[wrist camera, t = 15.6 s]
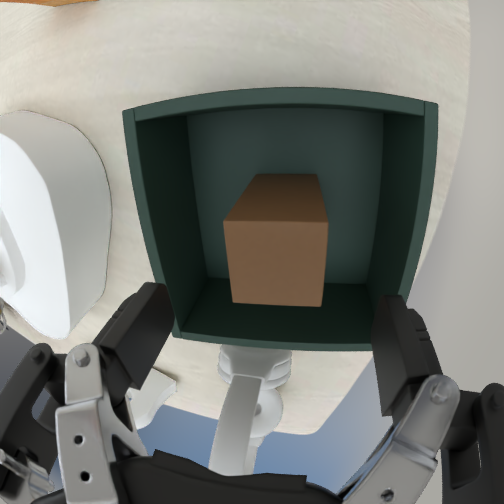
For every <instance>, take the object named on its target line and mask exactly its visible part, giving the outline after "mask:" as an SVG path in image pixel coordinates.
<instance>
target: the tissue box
mask: <svg viewBox="0 0 504 504" xmlns="http://www.w3.org/2000/svg"><path fill="white" fill-rule="evenodd" d="M111 219H112V205H111V196H110V190H109V185H108V181H107V177H106V173H105V170H104V167H103V164H102V161H101V159H100V157H99V155H98V154H97V152H96V150H95V149H94V147H93V146H92V145H91V143H90V142H89V140H88V139H87V138H86V137H85V136H84V135H83V134H82V133H81V132H80V131H79V130H78V129H76V128H75V127H73V126H72V125H70V124H68V123H66V122H63V121H60V120H57V119H54V118H51V117H47V116H44V115H41V114H38V113H34V112H31V111H26V110H22V111H16V112H12V113H8V114H4V115H0V297H1V298H2V299H3V300H4V301H5V302H7V303H8V304H9V305H10V306H11V307H13V308H14V309H15V310H16V311H17V312H18V313H19V314H20V315H21V316H22V317H23V318H24V319H25V320H26V321H27V322H28V323H29V324H30V325H31V326H32V327H34V328H35V329H36V330H37V331H39V332H40V333H42V334H43V335H45V336H47V337H50V338H54V339H65V338H66V337H68V335H69V334H70V333H71V332H72V330H73V329H74V328H75V327H76V325H77V324H78V323H79V322H80V321H81V319H82V318H83V317H84V316H85V315H86V313H87V312H88V311H89V310H90V309H91V308H92V306H93V305H94V304H95V303H96V302H97V301H98V299H99V298H100V297H101V296H102V294H103V292H104V288H105V282H106V270H107V258H108V248H109V238H110V230H111Z"/></svg>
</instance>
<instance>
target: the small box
mask: <svg viewBox="0 0 504 504" xmlns="http://www.w3.org/2000/svg"><path fill="white" fill-rule="evenodd" d="M86 1H99V0H0V2H17V3H31V4H39V5H46V6H53V7H56V6H60V5H64V4H71V3H77V2H86Z"/></svg>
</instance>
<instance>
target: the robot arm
mask: <svg viewBox="0 0 504 504" xmlns="http://www.w3.org/2000/svg"><path fill="white" fill-rule="evenodd" d="M174 322H175V314H174V310H173V307H172V304H171V300H170V297H169V293H168V290H167V287H166V285H165V284H163V283H153V282H146V283H144V284H143V286H142V287H141V288H140V289H139V291H138V292H137V293H134V294H133V295H131V296H130V297H128V298H127V299H126V300H124V301H123V303H122V304H121V305H120V307H119V308H118V311H116V312H115V313H114V314H113V315H112V318H110V319H109V321H108V322H107V323H106V325H105V326H104V327H103V329H102V330H101V331H100V333H99V334H98V335H97V337H96V338H95V339H94V341H93V342H92V343H91V344H90V343H84V344H80V345H78V346H76V347H74V348H73V349H72V350H71V351H70V352H69V353H68V354H55V353H54V352H53V350H52V349H51V347H50V346H49V345H48V344H46V343H39V344H37V345H35V346H33V347H32V348H31V349H30V350H29V351H28V352H27V354H26V355H25V356H24V358H23V359H22V360H21V362H20V363H19V365H18V366H17V368H16V369H15V371H14V372H13V374H12V375H11V376H10V378H9V379H8V381H7V383H6V384H5V386H4V387H3V389H2V390H1V392H0V497H1V498H2V499H3V500H4V501H5V502H6V503H7V504H415V503H416V501H417V500H418V498H419V497H420V495H421V494H422V492H423V490H424V489H425V487H426V486H427V484H428V482H429V480H430V479H431V477H432V475H433V473H434V472H435V469H436V467H437V464H438V461H437V460H436V459H435V457H436V454H437V452H438V450H439V449H441V459H442V483H443V484H442V495H443V496H442V497H443V498H442V504H504V386H503V385H501V384H498V383H491V384H489V385H487V386H486V387H485V388H484V389H483V391H482V392H481V393H477V392H470V391H463V390H459V388H458V385H457V384H456V383H455V381H454V380H452V379H451V378H449V377H448V376H445V375H443V373H442V370H441V367H440V364H439V361H438V358H437V355H436V352H435V349H434V347H433V344H432V341H431V340H430V336H429V333H428V332H427V331H426V330H427V328H426V326H425V323H424V321H423V319H422V317H421V316H420V315H419V314H418V313H417V312H416V311H415V310H414V309H408V308H407V306H406V303H405V301H404V299H403V296H402V295H381V297H380V299H379V302H378V306H377V310H376V313H375V317H374V320H373V324H372V327H371V345H372V351H373V356H374V362H375V368H376V375H377V381H378V388H379V395H380V404H381V413H382V416H392V418H393V424H392V425H391V426H390V428H389V429H388V431H387V432H386V434H385V435H384V437H383V438H382V440H381V441H380V443H379V444H378V445H377V447H376V448H375V449H374V451H373V452H372V453H371V455H370V456H369V457H368V459H367V460H366V461H365V462H364V464H363V465H362V466H361V467H360V468H359V470H358V471H357V472H356V473H355V474H354V475H353V476H352V477H351V478H350V479H349V480H348V481H347V482H346V484H345V485H344V486H343V487H342V488H341V489H340V490H339V491H338V492H337V493H336V494H334V493H333V492H331V491H330V490H328V489H326V488H324V487H322V486H319V485H317V484H314V483H310V482H306V478H307V476H306V475H288V474H273V473H262V474H251V475H236V476H225V475H221V474H219V473H216V472H214V471H212V470H210V469H207V468H206V467H204V466H202V465H200V464H198V463H196V462H194V461H192V460H190V459H187V458H183V457H180V456H176V455H172V454H169V453H166V452H163V451H160V450H157V449H155V451H154V454H153V456H149V454H148V452H147V450H146V448H145V446H144V444H143V443H142V441H141V440H140V438H139V435H138V432H137V429H136V425H135V421H134V417H133V414H132V410H131V405H130V401H129V397H128V395H127V393H126V392H127V390H128V389H129V387H130V388H133V389H136V390H141V388H142V386H143V384H144V382H145V380H146V378H147V376H148V374H149V372H150V370H151V368H152V366H153V365H154V363H155V361H156V359H157V357H158V355H159V353H160V351H161V349H162V348H163V346H164V344H165V342H166V340H167V338H168V336H169V334H170V333H171V331H172V329H173V326H174ZM43 388H45V389H46V391H47V392H48V393H49V394H50V395H51V396H50V397H49V399H48V401H47V403H46V405H45V406H44V408H43V410H42V412H41V413H40V415H39V417H38V419H37V420H35V419H34V418H33V416H32V413H31V412H32V407H33V405H34V403H35V401H36V400H37V398H38V396H39V395H40V393H41V391H42V390H43ZM478 444H479V449H478ZM479 452H480V457H479ZM57 455H58V456H59V462H60V470H61V476H62V482H63V487H64V488H63V489H61V490H58V491H55V492H53V493H50V494H48V491H49V492H52V491H53V490H54V483H53V482H52V481H51V480H50V479H49V474H50V472H51V469H52V467H53V465H54V462H55V460H56V458H57ZM480 460H481V466H480Z"/></svg>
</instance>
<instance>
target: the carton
mask: <svg viewBox="0 0 504 504" xmlns="http://www.w3.org/2000/svg"><path fill="white" fill-rule="evenodd" d="M223 225H224V234H225V243H226V251H227V260H228V268H229V276H230V284H231V292H232V299H233V302H235V303H250V304H267V305H287V306H315V307H320V306H321V305H322V296H323V287H324V277H325V267H326V255H327V243H328V228H329V223H328V218H327V214H326V209H325V205H324V201H323V197H322V193H321V189H320V185H319V181H318V177H317V174H256V175H255V176H254V178H253V179H252V180H251V182H250V183H249V185H248V186H247V187H246V189H245V190H244V192H243V193H242V195H241V196H240V198H239V199H238V200H237V202H236V203H235V205H234V206H233V208H232V209H231V211H230V212H229V214H228V215H227V216H226V218H225V219H224V221H223Z"/></svg>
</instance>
